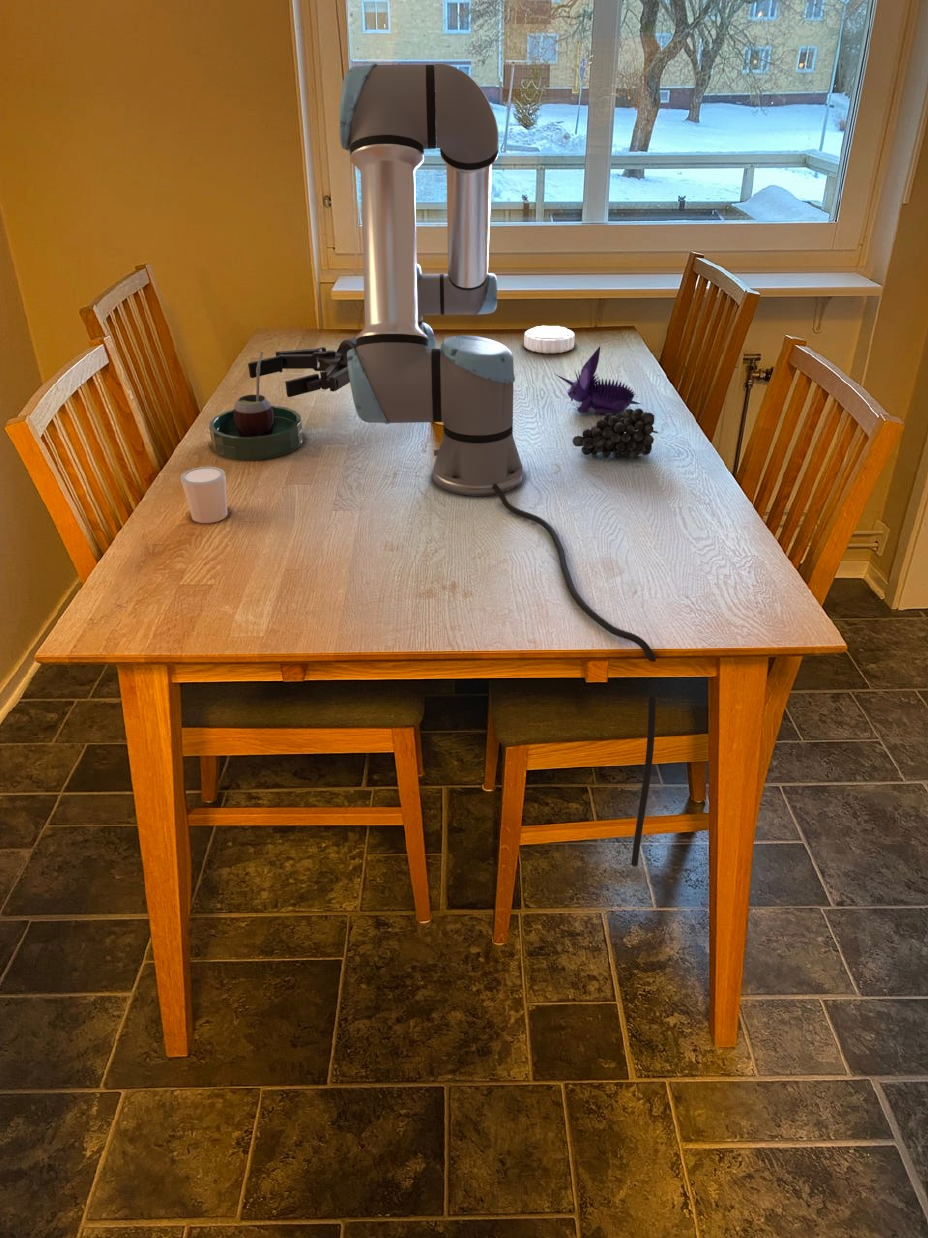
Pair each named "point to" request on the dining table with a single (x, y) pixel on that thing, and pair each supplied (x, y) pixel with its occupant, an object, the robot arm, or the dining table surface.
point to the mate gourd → (254, 412)
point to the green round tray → (258, 447)
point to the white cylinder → (205, 493)
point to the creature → (598, 391)
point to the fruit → (619, 435)
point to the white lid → (549, 339)
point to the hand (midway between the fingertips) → (267, 379)
